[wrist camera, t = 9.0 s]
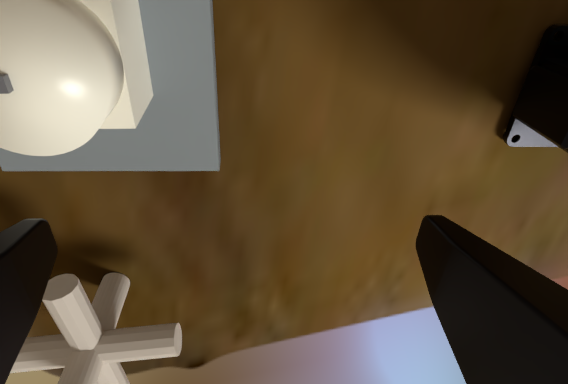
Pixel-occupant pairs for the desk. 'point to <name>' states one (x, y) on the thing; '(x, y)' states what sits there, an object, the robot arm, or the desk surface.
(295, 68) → the desk surface
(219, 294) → the desk surface
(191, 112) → the panel
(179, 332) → the pipe connector
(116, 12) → the knob
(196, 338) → the desk surface
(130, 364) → the desk surface
